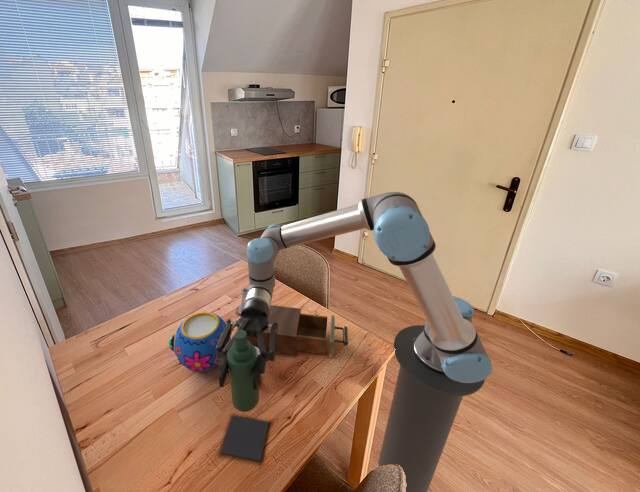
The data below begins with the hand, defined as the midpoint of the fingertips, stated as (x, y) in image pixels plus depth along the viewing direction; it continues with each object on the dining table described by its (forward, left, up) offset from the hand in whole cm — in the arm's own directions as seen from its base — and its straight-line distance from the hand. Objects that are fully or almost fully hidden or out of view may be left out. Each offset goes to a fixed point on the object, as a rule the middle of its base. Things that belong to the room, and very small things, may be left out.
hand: (237, 383), depth 61 cm
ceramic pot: (+21, -25, -26) cm, 41 cm away
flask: (+14, -50, -26) cm, 58 cm away
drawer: (-15, -38, -25) cm, 48 cm away
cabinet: (0, -38, -25) cm, 46 cm away
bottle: (0, -5, -12) cm, 13 cm away
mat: (+1, -4, -25) cm, 26 cm away
